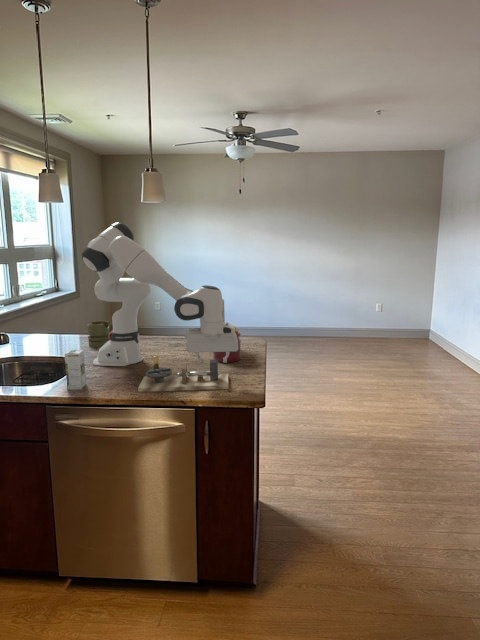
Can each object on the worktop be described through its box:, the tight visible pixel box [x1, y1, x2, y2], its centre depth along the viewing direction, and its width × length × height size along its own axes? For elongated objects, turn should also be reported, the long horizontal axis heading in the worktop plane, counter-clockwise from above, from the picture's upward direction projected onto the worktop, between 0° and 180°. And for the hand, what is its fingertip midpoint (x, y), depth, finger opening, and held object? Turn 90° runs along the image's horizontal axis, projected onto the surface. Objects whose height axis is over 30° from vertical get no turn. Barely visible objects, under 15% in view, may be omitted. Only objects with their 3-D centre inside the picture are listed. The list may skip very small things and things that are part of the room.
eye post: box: [181, 362, 188, 384], centre depth 168 cm, size 1×7×6 cm, turn 2°
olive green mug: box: [86, 320, 111, 348], centre depth 232 cm, size 11×12×11 cm
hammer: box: [176, 359, 221, 381], centre depth 168 cm, size 17×4×7 cm, turn 92°
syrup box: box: [64, 349, 87, 391], centre depth 166 cm, size 6×6×14 cm
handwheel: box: [145, 355, 173, 378], centre depth 167 cm, size 10×10×6 cm
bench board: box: [137, 373, 229, 393], centre depth 168 cm, size 34×14×4 cm, turn 92°
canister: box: [212, 321, 242, 363], centre depth 200 cm, size 13×13×18 cm
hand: (212, 362), depth 167 cm, fingers open, 8 cm apart
